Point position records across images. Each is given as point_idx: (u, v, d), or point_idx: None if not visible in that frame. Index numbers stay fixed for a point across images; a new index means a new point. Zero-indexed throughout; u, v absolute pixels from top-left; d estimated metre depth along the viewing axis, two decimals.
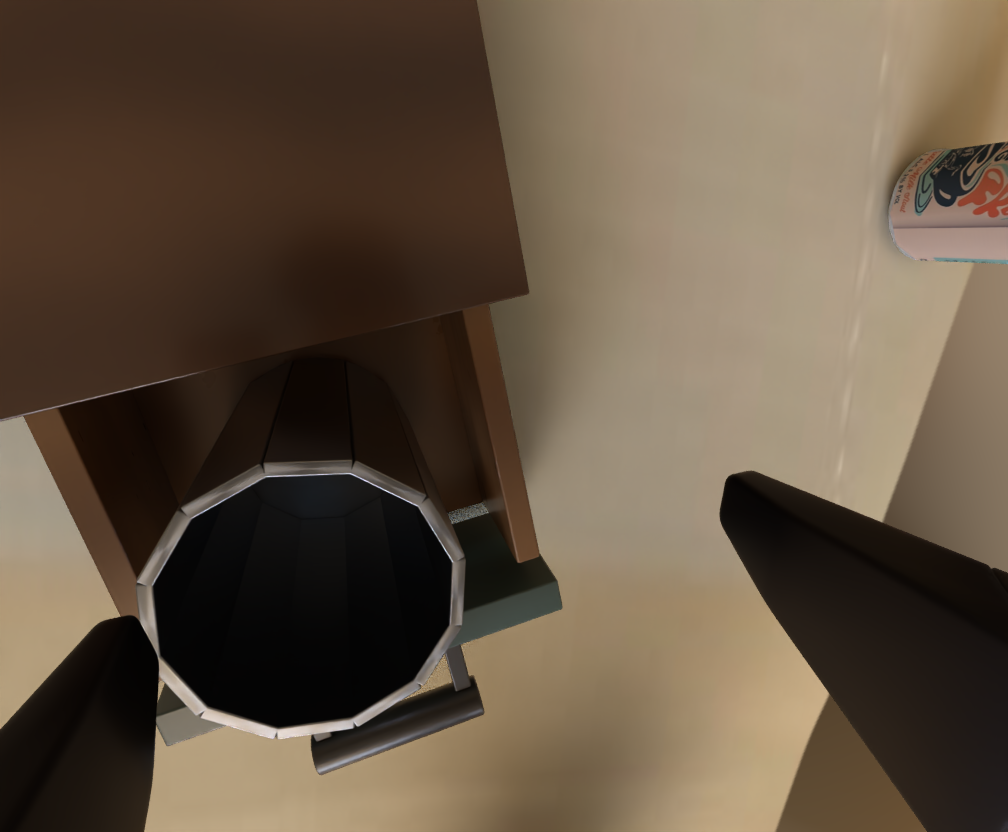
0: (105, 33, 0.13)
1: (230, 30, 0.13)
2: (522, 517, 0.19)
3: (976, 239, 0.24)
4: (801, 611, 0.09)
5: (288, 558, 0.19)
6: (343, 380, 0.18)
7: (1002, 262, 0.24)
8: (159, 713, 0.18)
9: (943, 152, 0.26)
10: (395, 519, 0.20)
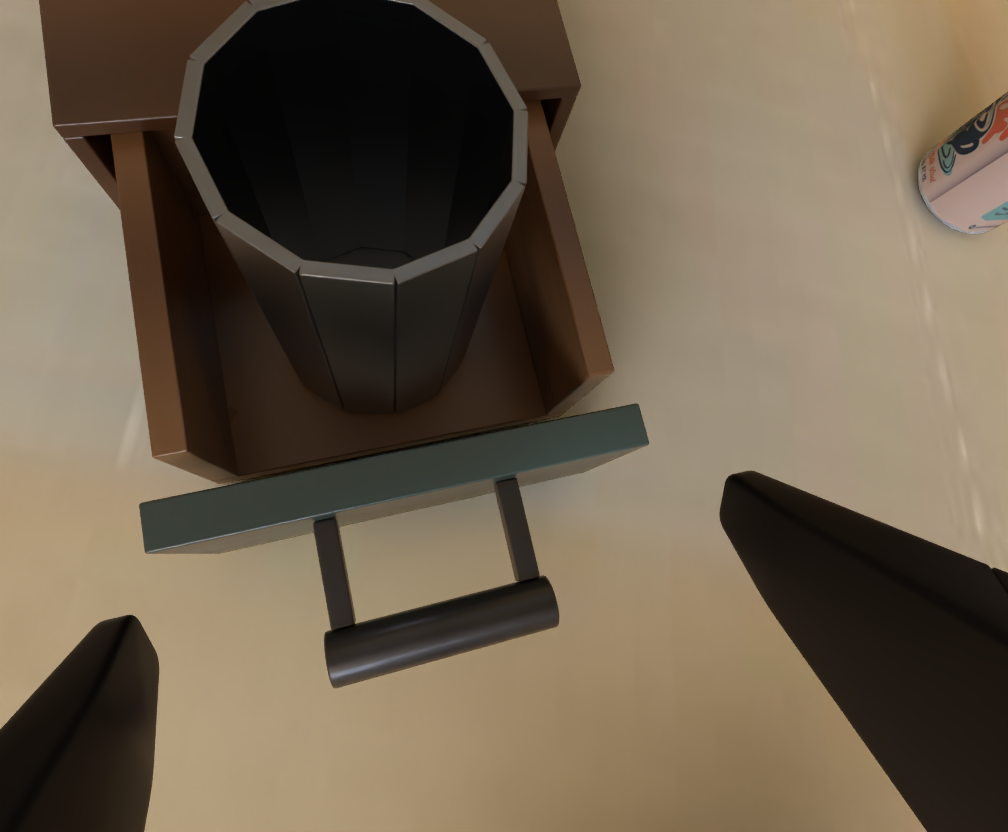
0: None
1: None
2: (590, 320, 0.17)
3: None
4: (801, 611, 0.09)
5: None
6: None
7: None
8: (148, 501, 0.14)
9: (952, 133, 0.28)
10: None
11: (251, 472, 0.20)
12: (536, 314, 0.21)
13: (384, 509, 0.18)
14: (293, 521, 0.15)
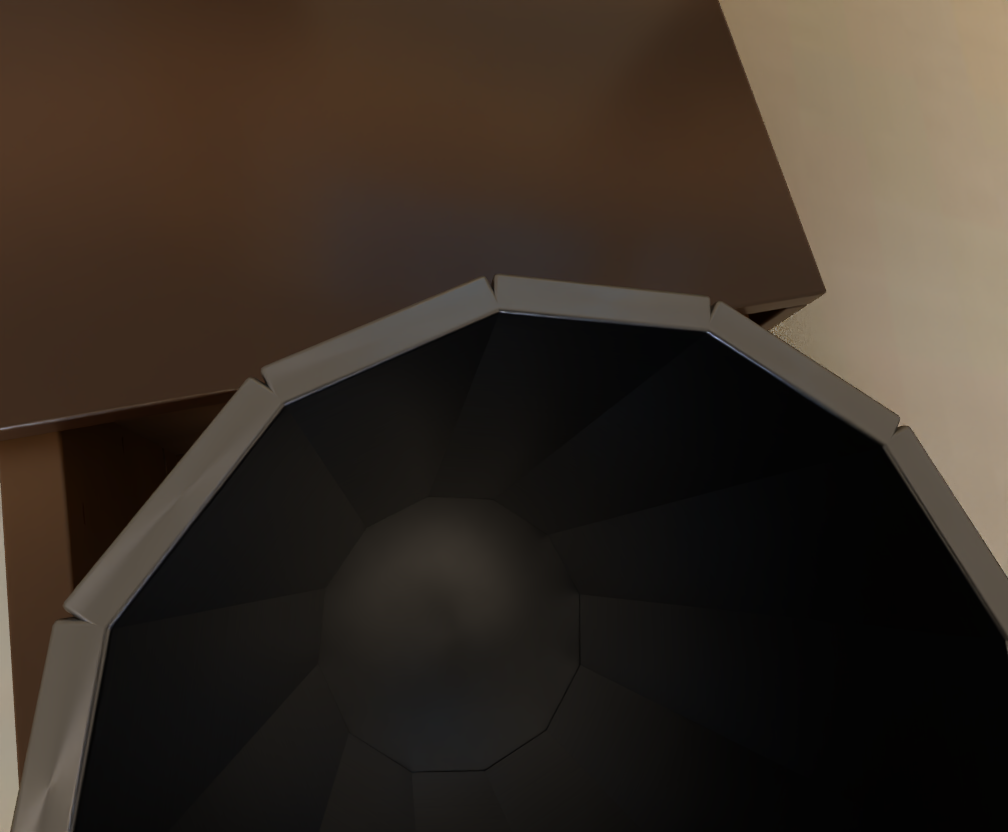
0: None
1: None
2: None
3: None
4: None
5: (400, 825, 0.09)
6: None
7: None
8: None
9: None
10: (605, 743, 0.10)
11: None
12: None
13: None
14: None
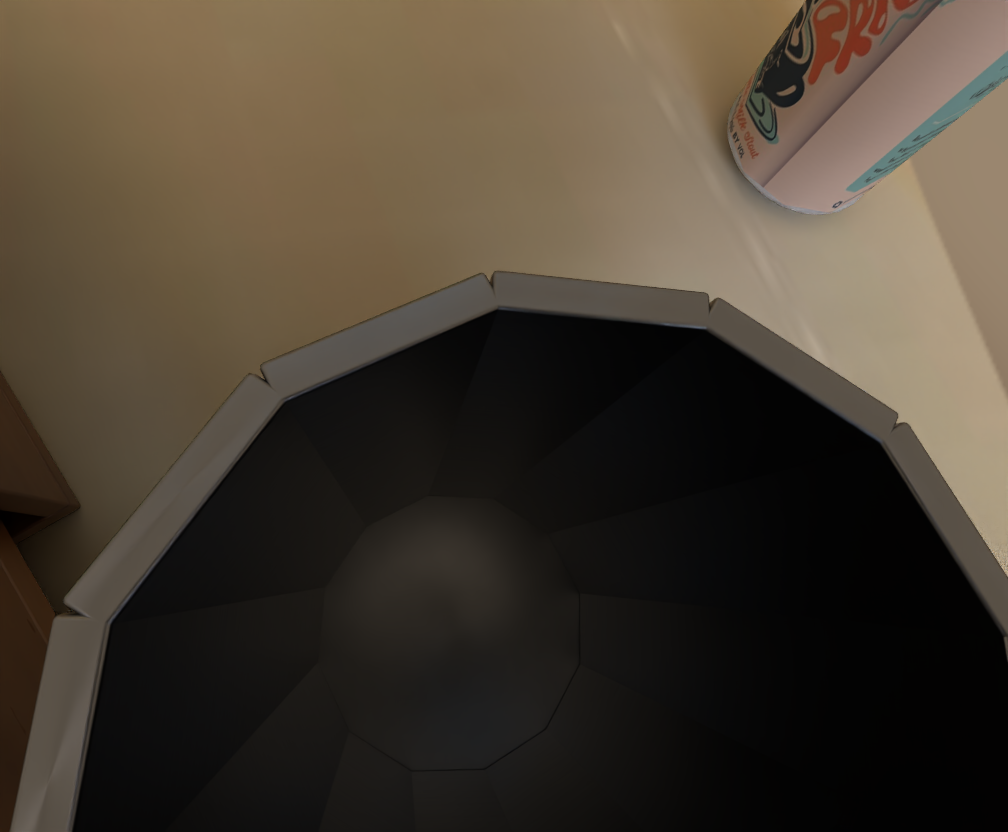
0: None
1: None
2: None
3: (873, 104, 0.14)
4: None
5: (400, 823, 0.09)
6: None
7: (942, 116, 0.14)
8: None
9: (758, 68, 0.17)
10: (604, 741, 0.10)
11: None
12: None
13: None
14: None
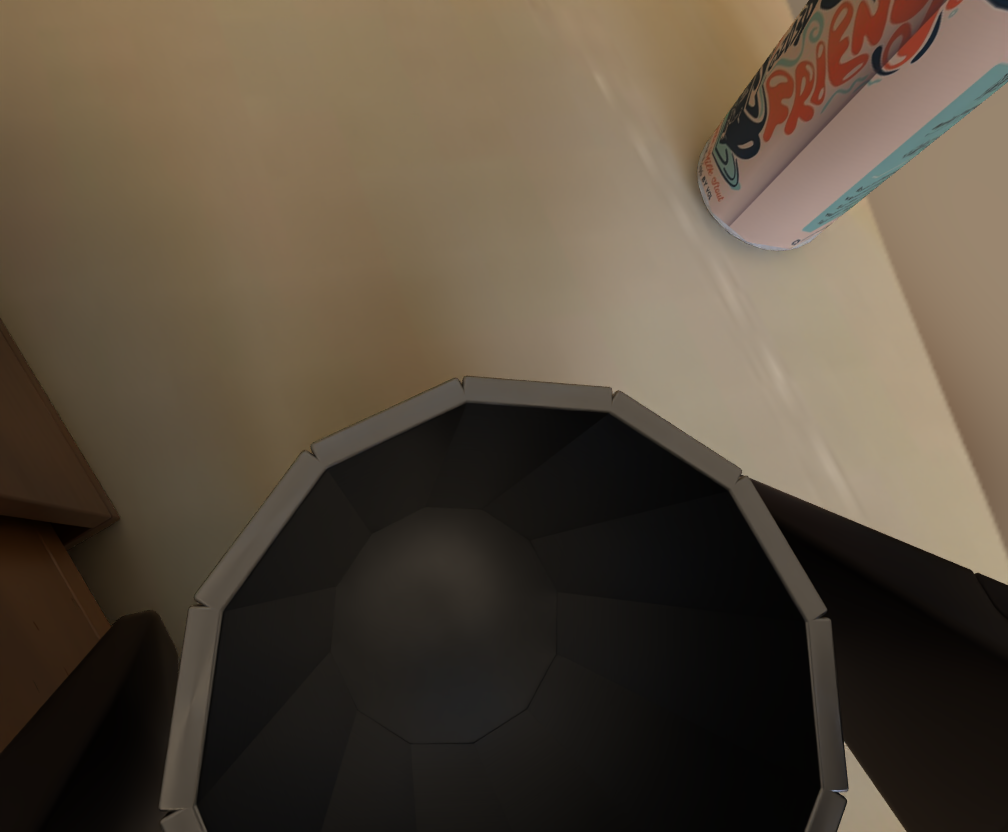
0: None
1: None
2: None
3: (818, 161, 0.16)
4: None
5: (401, 780, 0.11)
6: None
7: (879, 171, 0.16)
8: None
9: (724, 119, 0.19)
10: (571, 715, 0.12)
11: None
12: None
13: None
14: None
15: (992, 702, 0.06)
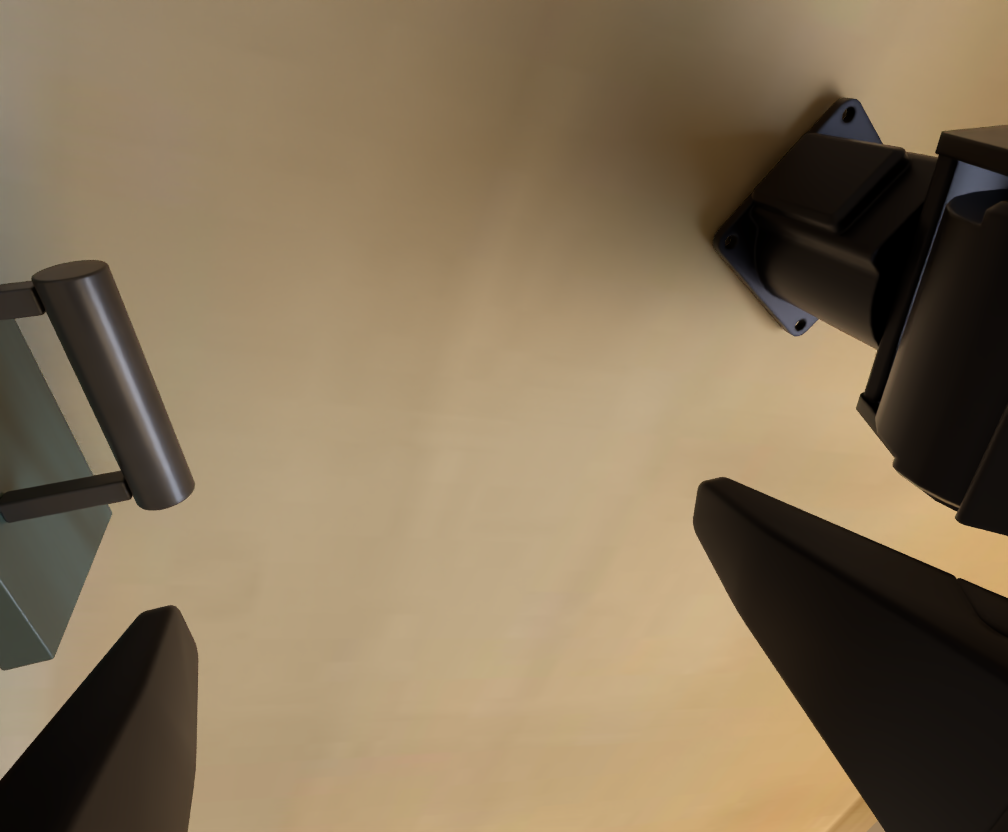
0: None
1: None
2: None
3: None
4: (771, 620, 0.09)
5: None
6: None
7: None
8: None
9: None
10: None
11: None
12: None
13: None
14: None
15: (971, 709, 0.06)
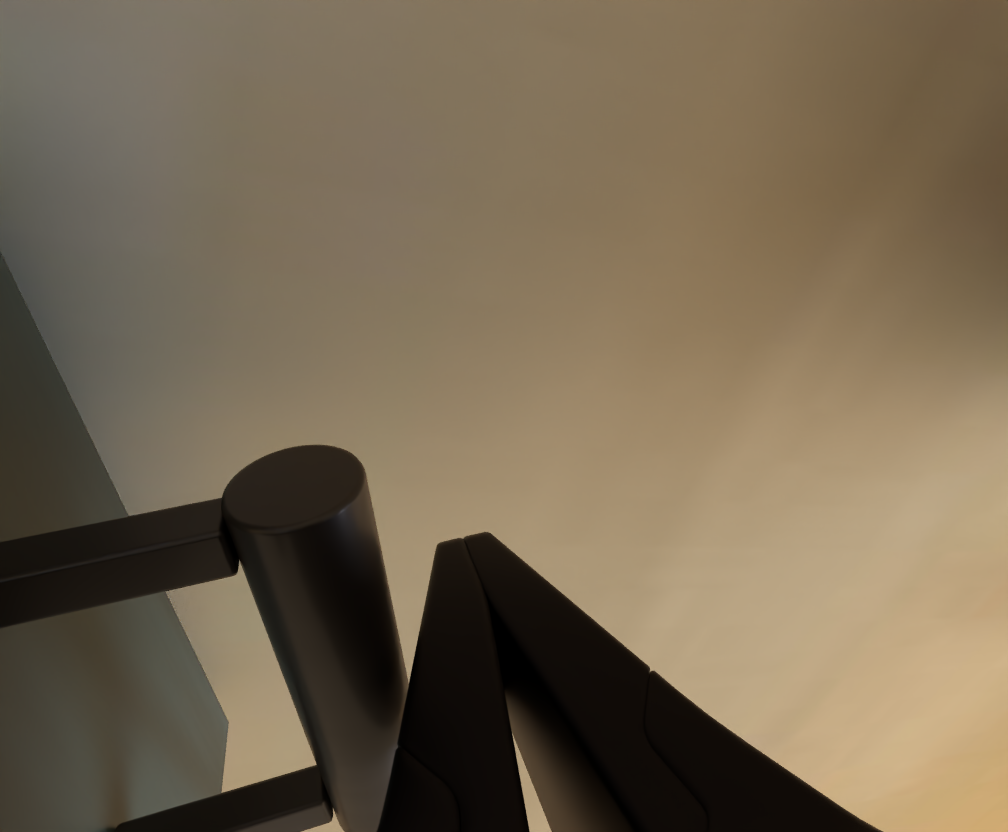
0: None
1: None
2: None
3: None
4: (508, 698, 0.08)
5: None
6: None
7: None
8: None
9: None
10: None
11: None
12: None
13: (92, 718, 0.08)
14: None
15: None
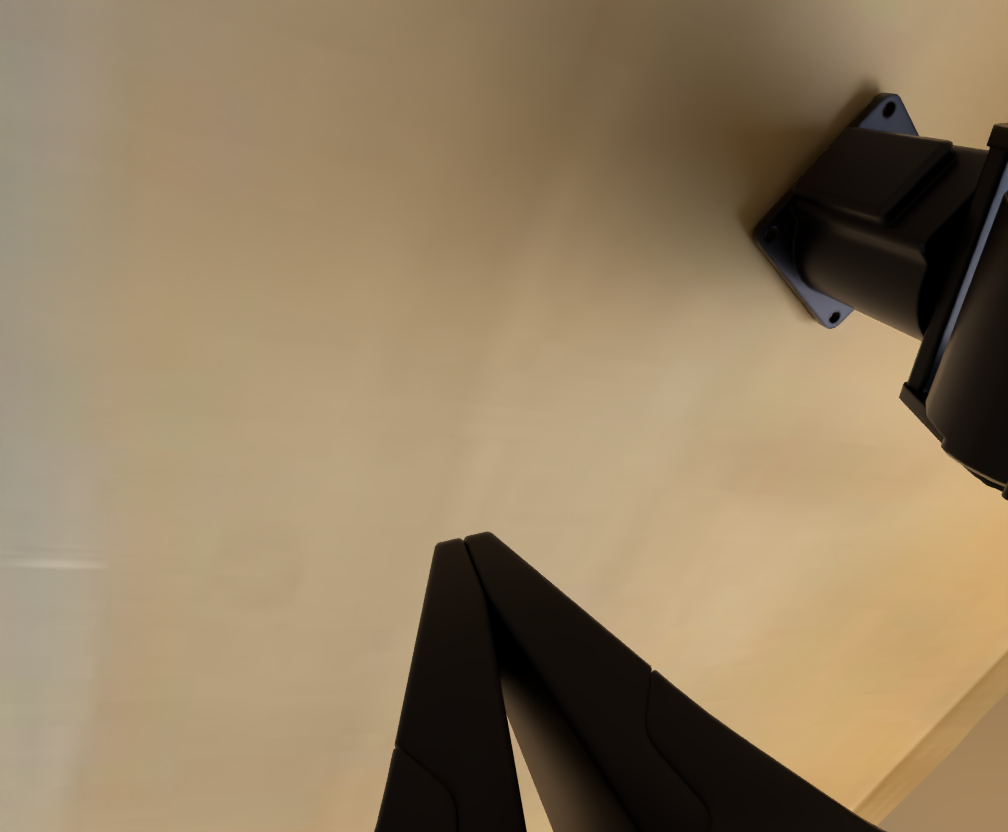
0: None
1: None
2: None
3: None
4: (509, 697, 0.08)
5: None
6: None
7: None
8: None
9: None
10: None
11: None
12: None
13: None
14: None
15: None
